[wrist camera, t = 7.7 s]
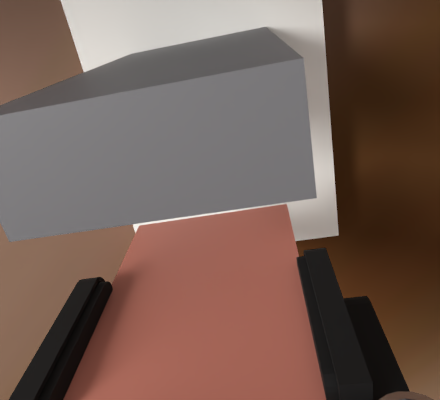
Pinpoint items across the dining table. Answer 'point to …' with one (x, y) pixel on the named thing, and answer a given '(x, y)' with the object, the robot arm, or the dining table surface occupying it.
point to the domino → (159, 138)
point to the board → (212, 27)
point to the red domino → (205, 315)
